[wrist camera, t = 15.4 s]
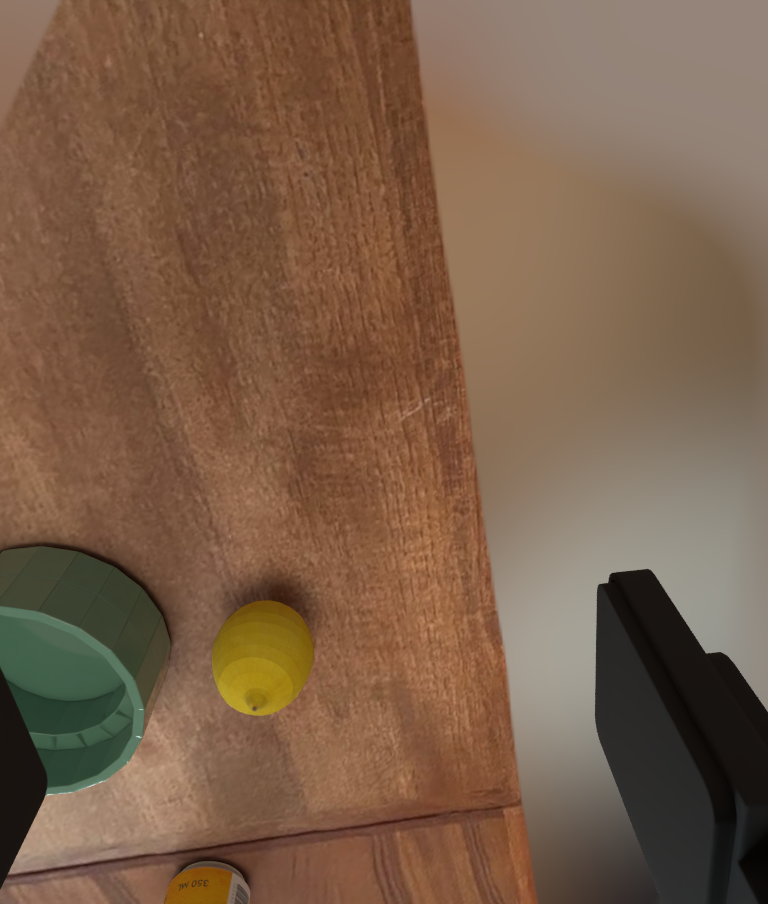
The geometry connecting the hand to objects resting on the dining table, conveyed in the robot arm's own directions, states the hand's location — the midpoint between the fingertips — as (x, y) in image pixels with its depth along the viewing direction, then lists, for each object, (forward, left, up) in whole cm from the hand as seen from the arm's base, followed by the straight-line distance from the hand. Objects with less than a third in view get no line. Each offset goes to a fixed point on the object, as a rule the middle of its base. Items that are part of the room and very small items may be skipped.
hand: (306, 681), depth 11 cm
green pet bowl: (+18, -20, -26) cm, 38 cm away
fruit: (+18, -7, -26) cm, 33 cm away
